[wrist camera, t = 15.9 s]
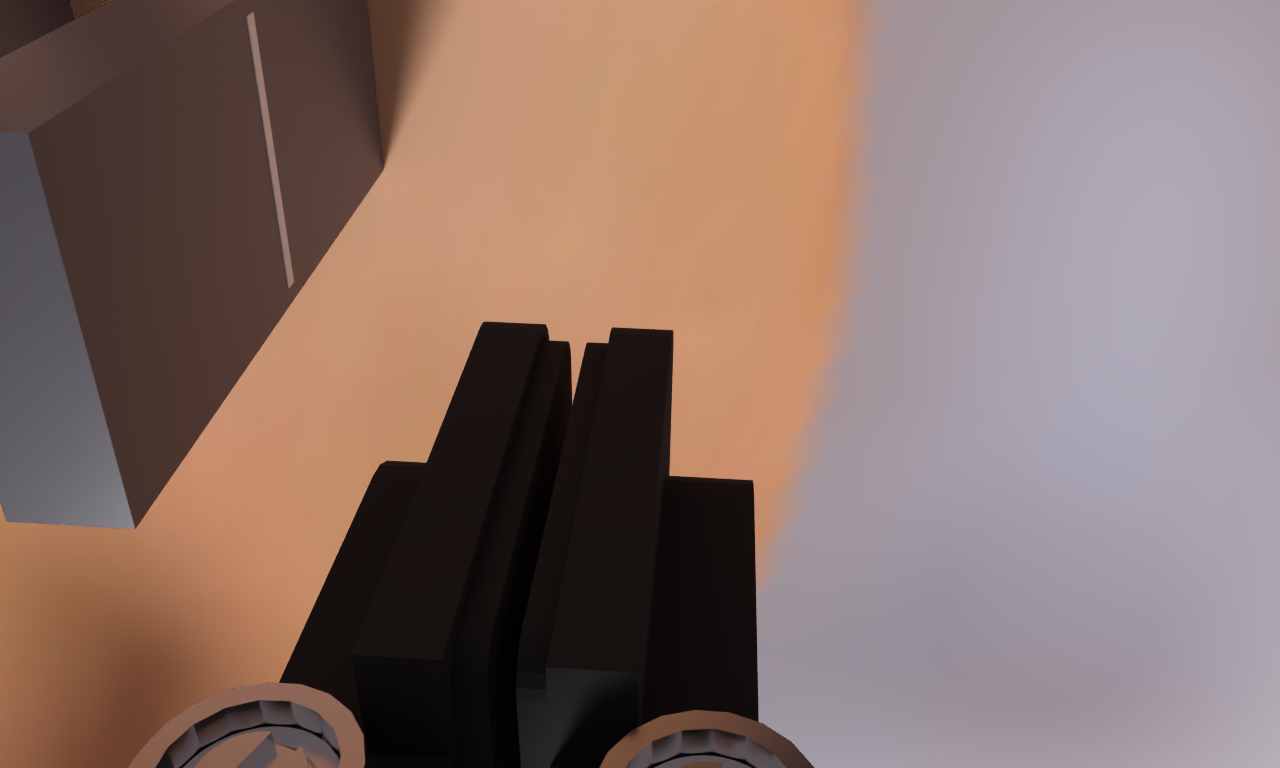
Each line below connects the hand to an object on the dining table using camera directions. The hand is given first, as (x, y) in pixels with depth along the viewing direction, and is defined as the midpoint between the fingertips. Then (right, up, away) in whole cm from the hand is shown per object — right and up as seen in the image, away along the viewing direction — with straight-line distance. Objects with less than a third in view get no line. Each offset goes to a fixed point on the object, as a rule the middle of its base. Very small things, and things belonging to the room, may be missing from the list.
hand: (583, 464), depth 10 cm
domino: (-6, +7, +12) cm, 15 cm away
